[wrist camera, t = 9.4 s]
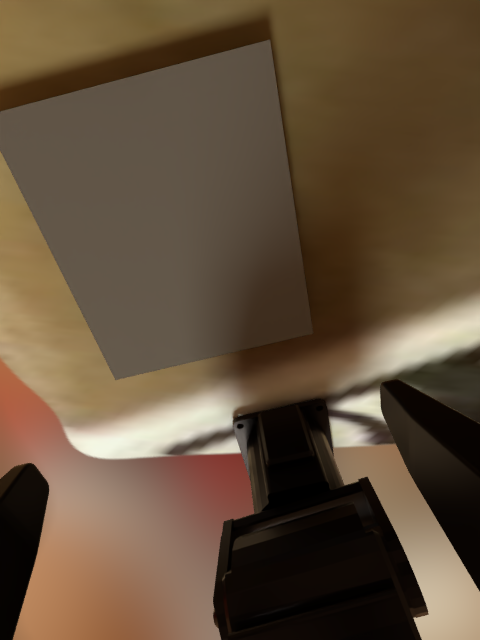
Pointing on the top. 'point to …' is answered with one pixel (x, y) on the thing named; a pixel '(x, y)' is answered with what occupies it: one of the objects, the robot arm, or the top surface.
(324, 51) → the top surface
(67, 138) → the rubber mat
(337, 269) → the top surface
